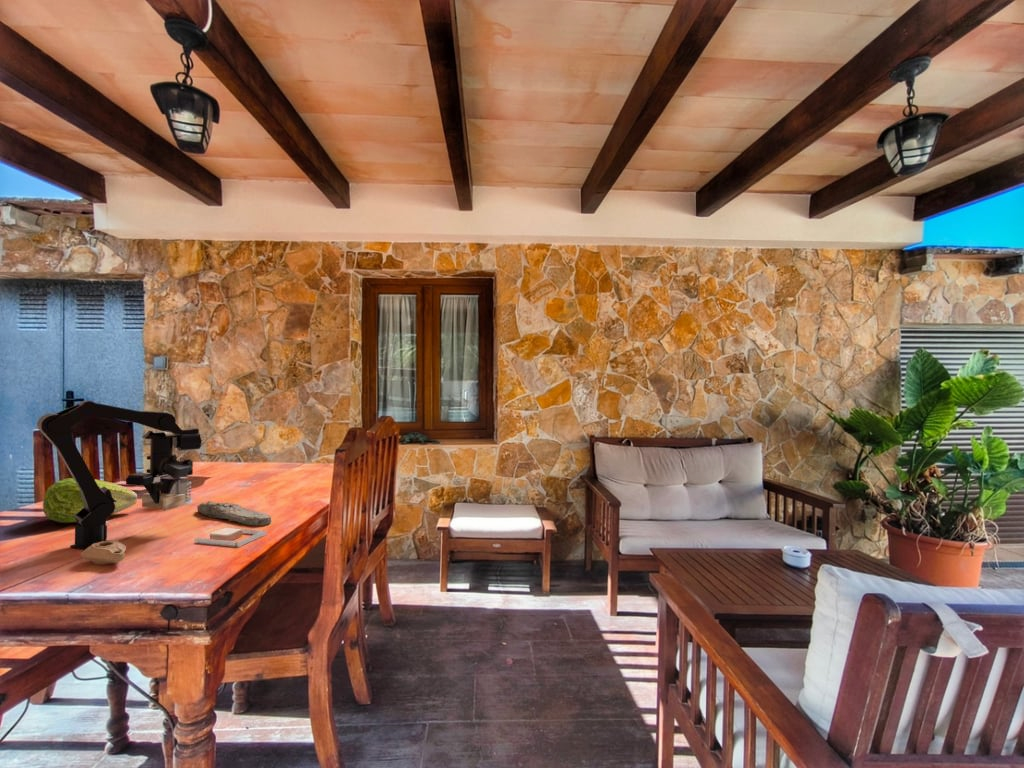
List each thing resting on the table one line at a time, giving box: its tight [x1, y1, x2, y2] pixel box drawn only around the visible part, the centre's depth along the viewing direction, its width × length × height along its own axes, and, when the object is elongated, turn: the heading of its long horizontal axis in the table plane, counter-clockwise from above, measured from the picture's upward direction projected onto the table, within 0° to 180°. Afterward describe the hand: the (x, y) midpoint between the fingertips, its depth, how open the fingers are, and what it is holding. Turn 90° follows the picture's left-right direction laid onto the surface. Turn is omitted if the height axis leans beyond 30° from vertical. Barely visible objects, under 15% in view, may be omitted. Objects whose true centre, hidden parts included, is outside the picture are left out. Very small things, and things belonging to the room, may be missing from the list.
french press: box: [170, 451, 194, 506], centre depth 190 cm, size 10×12×25 cm
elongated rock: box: [196, 501, 272, 527], centre depth 173 cm, size 35×5×10 cm
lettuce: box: [42, 477, 138, 524], centre depth 169 cm, size 17×24×14 cm
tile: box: [209, 527, 243, 541], centre depth 152 cm, size 6×6×2 cm
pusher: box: [141, 492, 186, 511], centre depth 156 cm, size 7×11×4 cm, turn 79°
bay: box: [194, 526, 267, 548], centre depth 151 cm, size 12×14×1 cm
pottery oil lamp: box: [80, 539, 127, 566], centre depth 130 cm, size 9×12×7 cm
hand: (160, 502), depth 156 cm, fingers closed on pusher, 2 cm apart
